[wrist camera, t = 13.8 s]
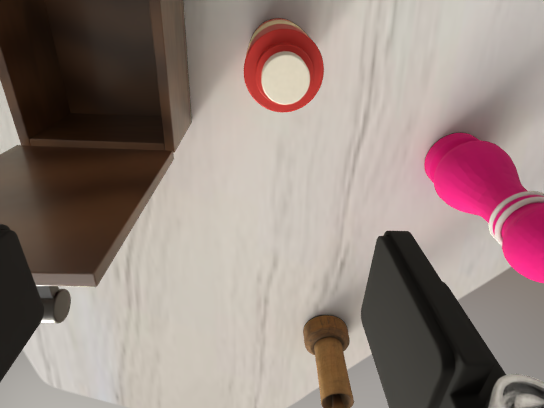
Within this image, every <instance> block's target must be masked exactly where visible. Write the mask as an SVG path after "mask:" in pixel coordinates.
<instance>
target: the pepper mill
mask: <svg viewBox="0 0 544 408" xmlns="http://www.w3.org/2000/svg"><path fill="white" fill-rule="evenodd" d="M425 171H426V174H427V176H428V177H429V178H430V179H431V180H432V182H433V183H434V186H435V190H436V192H437V194H438V195H439V197H440V198H441V199H442V200H443V201H445V202H446V203H447V204H448V205H450V206H451V207H453V208H455V209H457V210H459V211H462V212H466V213H471V214H475V215H479V216H481V217H483V218H484V219H485V220H486V221H487V222H488V223H489V231H490V233H491V235H492V236H493V237H494V238H495V239H496V240H497V241H498V243H499V244H500V245H502V249H503V253H504V256H505V258H506V260H507V261H508V262H509V264H510V265H511V266H512V267H513V268H514V269H515V270H516V271H517V272H519V273H520V274H522V275H523V276H525V277H526V278H528V279H531V280H533V281H536V282H540V283H544V194H543V193H540V192H536V191H527V190H526V189H525V188H524V187H523V186H522V184H521V182H520V180H519V177H518V173H517V170H516V167H515V165H514V163H513V161H512V160H511V158H510V157H509V155H508V154H507V153H506V152H505V151H504V150H502V149H501V148H500V147H499V146H497V145H496V144H493V143H491V142H487V141H480V140H479V139H477V138H476V137H474V136H472V135H470V134H467V133H453V134H450V135H447V136H445V137H443V138H441V139H440V140H439V141H437V142H436V143H435V144H434V145H433V146H432V147H431V149H430V150H429V152H428V154H427V156H426V159H425Z"/></svg>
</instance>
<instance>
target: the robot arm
mask: <svg viewBox="0 0 544 408" xmlns="http://www.w3.org/2000/svg"><path fill="white" fill-rule="evenodd" d="M43 316H44V306H43V303H42V301H41V298H40V295H39V292H38V290H37V287H36V284H35V282H34V279H33V276H32V274H31V271H30V268H29V266H28V263H27V260H26V257H25V255H24V252H23V249H22V247H21V244H20V241H19V239H18V236H17V234H16V232H14V231H12V230H10V228H9V227H8V226H7V225H4V224H0V382H1V380H2V379H3V377H4V376H5V374H6V373H7V371H8V370H9V368H10V367H11V365H12V364H13V363H14V361H15V360H16V358H17V357H18V355H19V354H20V352H21V351H22V349H23V348H24V346H25V345H26V343H27V342H28V340H29V339H30V337H31V336H32V334H33V333H34V331H35V330H36V328H37V327H38V326H39V324H40V323H41V321H42V319H43ZM361 319H362V324H363V327H364V330H365V333H366V336H367V340H368V343H369V346H370V349H371V352H372V355H373V358H374V361H375V365H376V368H377V371H378V374H379V377H380V380H381V383H382V387H383V390H384V392H385V396H386V399H387V402H388V405H389V408H544V382H542V381H540V380H537V379H535V378H532V377H530V376H525V375H520V374H509V375H506V374H505V372H504V371H503V369H502V368H501V366H500V365H499V363H498V362H497V360H496V359H495V357H494V356H493V354H492V353H491V351H490V350H489V348H488V347H487V345H486V343H485V342H484V340H483V339H482V338H481V336H480V334H479V333H478V331H477V330H476V329H475V327H474V325H473V324H472V322H471V321H470V319H469V318H468V316H467V315H466V313H465V312H464V310H463V309H462V307H461V305H460V304H459V302H458V301H457V299H456V298H455V296H454V295H453V293H452V292H451V290H450V289H449V287H448V286H447V285H446V284H445V283H444V282H442V281H441V279H440V278H439V276H438V275H437V273H436V271H435V270H434V268H433V267H432V265H431V264H430V262H429V261H428V259H427V258H426V256H425V254H424V253H423V251H422V250H421V248H420V247H419V245H418V244H417V242H416V241H415V239H414V237H413V236H412V234H411V233H410V232H408V231H386V232H385V234H384V236H379V237H378V238H377V242H376V246H375V251H374V255H373V259H372V264H371V268H370V273H369V277H368V282H367V286H366V291H365V295H364V299H363V304H362V308H361Z"/></svg>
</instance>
